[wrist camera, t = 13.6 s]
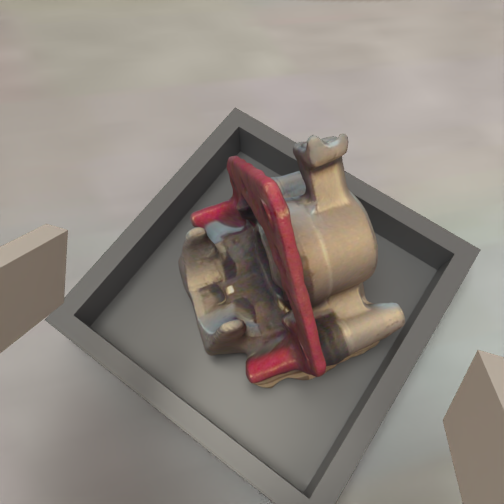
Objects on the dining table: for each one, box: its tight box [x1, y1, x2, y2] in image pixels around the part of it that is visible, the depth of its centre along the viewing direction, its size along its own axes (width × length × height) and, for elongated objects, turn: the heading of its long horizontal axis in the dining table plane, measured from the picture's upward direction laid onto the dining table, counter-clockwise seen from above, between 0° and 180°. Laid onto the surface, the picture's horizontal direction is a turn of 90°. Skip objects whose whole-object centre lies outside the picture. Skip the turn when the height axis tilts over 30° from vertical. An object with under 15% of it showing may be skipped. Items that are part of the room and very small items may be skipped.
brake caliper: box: [178, 134, 405, 388], centre depth 23 cm, size 11×11×12 cm
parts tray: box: [45, 108, 480, 504], centre depth 25 cm, size 16×16×3 cm
